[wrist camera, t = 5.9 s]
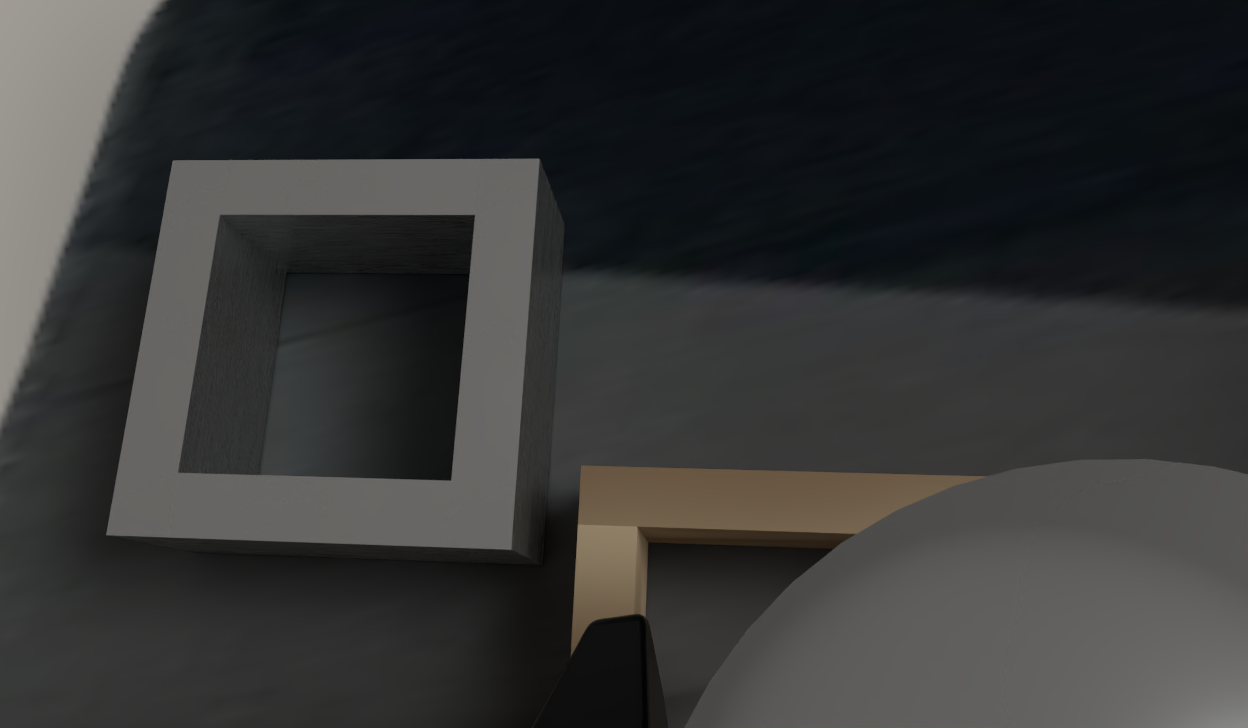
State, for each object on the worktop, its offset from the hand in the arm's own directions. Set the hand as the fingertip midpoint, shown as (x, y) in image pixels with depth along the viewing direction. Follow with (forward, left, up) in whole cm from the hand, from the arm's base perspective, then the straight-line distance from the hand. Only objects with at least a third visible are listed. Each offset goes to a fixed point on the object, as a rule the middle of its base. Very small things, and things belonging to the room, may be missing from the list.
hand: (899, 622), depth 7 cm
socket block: (+5, +8, -12) cm, 15 cm away
